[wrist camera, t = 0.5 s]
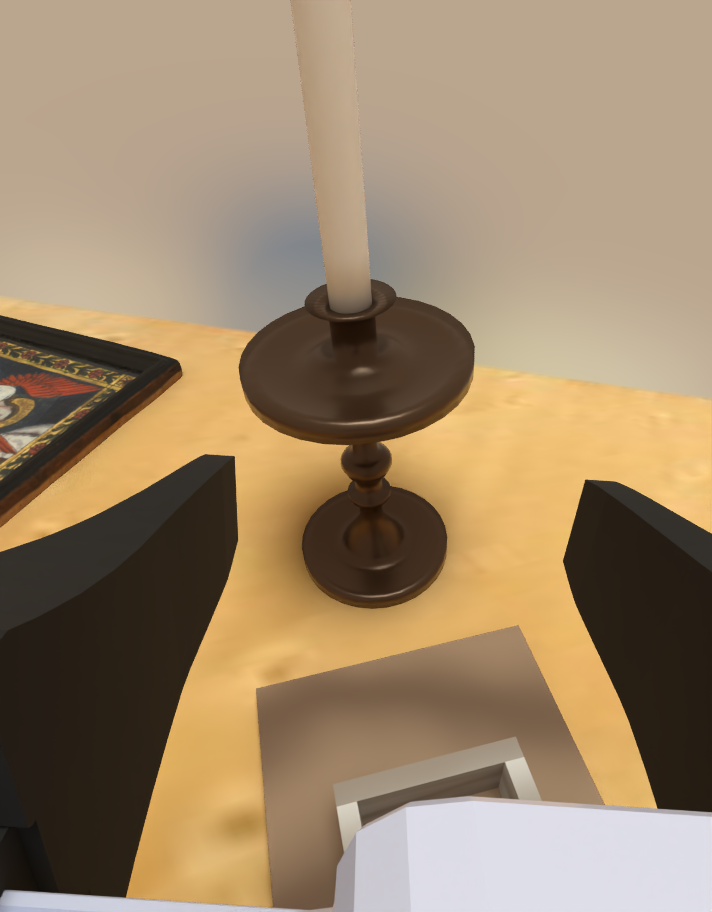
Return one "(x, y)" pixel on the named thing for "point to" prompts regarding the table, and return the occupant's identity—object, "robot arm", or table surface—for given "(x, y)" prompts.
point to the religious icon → (64, 402)
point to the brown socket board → (405, 749)
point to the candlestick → (356, 354)
